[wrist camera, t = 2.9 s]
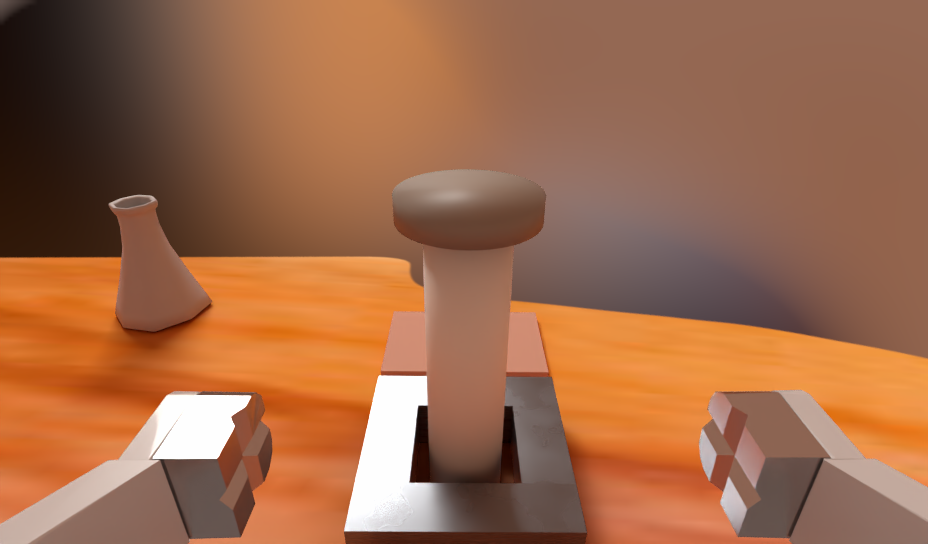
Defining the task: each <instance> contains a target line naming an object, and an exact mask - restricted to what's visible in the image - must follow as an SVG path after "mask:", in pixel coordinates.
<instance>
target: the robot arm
mask: <svg viewBox="0 0 928 544" xmlns="http://www.w3.org/2000/svg"><path fill="white" fill-rule="evenodd" d="M708 411H709V413H710V414H711V416H712V418H713V419H712V420H711V421H710V422H709V423H708V424H706V425H705V426H704V427H703V428H702V432H701V437H700V441H699V446H700V458H701V462H702V465H703V469H704V471H705V473H706V475H707V477H708V479H709V481H710V482H711V483H712V484H714V485H715V486H716V487H718V488H719V489H721V490H722V491H723V496H722V499H721V502H720V503H721V505H722V507H723V509H724V511H725V513H726V515H727V517H728V519H729V521H730V523H731V524H732V526H733V528H734V530H735V532H736V534H737V536H738V537H763V538H790V540H789V541H790V542H791V543H792V544H928V487H926V486H924V485H923V484H921V483H919V482H917V481H915V480H913V479H912V478H910V477H908V476H906V475H904V474H902V473H901V472H899V471H897V470H895V469H893V468H891V467H890V466H888V465H886V464H884V463H882V462H880V461H879V460H877V459H866V458H865V457H864V456H863V455H862V453H861V452H860V451H859V450H858V449H857V448H856V447H855V446H854V444H853V443H852V442H851V441H850V440H849V439H848V438H847V436H846V435H845V434H844V433H843V432H842V431H841V430H840V428H839V427H838V426H837V425H836V424H835V423H834V422H833V420H832V419H831V418H830V417H829V416H828V415H827V414H826V412H825V411H824V410H823V409H822V408H821V407H820V406H819V404H818V403H817V402H816V401H815V400H814V399H813V398H812V396H811V395H810V394H808V393H806V392H804V391H802V390H779V391H771V392H770V391H745V392H715V393H714V394H713V396H712V397H711V399H710V402H709V406H708ZM264 412H265V407H264V403H263V400H262V396H261V395H259V394H258V393H253V392H205V391H202V392H181V391H175V392H173V393H171V394H169V395H167V396H166V397H165V398H164V400H163V401H162V402H161V404H160V405H159V406H158V408H157V409H156V410H155V412H154V413H153V414H152V415H151V417H150V418H149V419H148V421H147V422H146V423H145V425H144V426H143V427H142V429H141V430H140V431H139V433H138V434H137V435H136V437H135V438H134V439H133V441H132V442H131V443H130V444H129V446H128V447H127V448H126V450H125V451H124V452H123V454H122V455H121V456H120V458H119V459H118V460H108V461H106V462H105V463H103V464H101V465H99V466H98V467H96V468H94V469H93V470H91V471H89V472H88V473H86V474H84V475H83V476H81V477H79V478H78V479H76V480H74V481H72V482H71V483H69V484H67V485H66V486H64V487H62V488H61V489H59V490H57V491H56V492H54V493H52V494H51V495H49V496H47V497H45V498H44V499H42V500H40V501H39V502H37V503H35V504H34V505H32V506H30V507H29V508H27V509H25V510H23V511H22V512H20V513H18V514H17V515H15V516H13V517H12V518H10V519H8V520H7V521H5V522H3V523H2V524H0V544H188V543H189V542H190V540H189V539H202V538H235V537H241V536H242V533H243V531H244V529H245V526H246V524H247V521H248V519H249V517H250V514H251V512H252V510H253V507H254V505H255V501H254V497H253V493H252V491H253V490H255V489H256V488H257V487H258V486H260V485H261V484H262V483H263V482H264V481H265V478H266V476H267V473H268V470H269V467H270V462H271V456H272V438H271V433H270V429H269V428H268V427H267V426H266V425H265V424H264V423H263V422H261V421H260V420H261V418H262V416H263V414H264Z"/></svg>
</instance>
